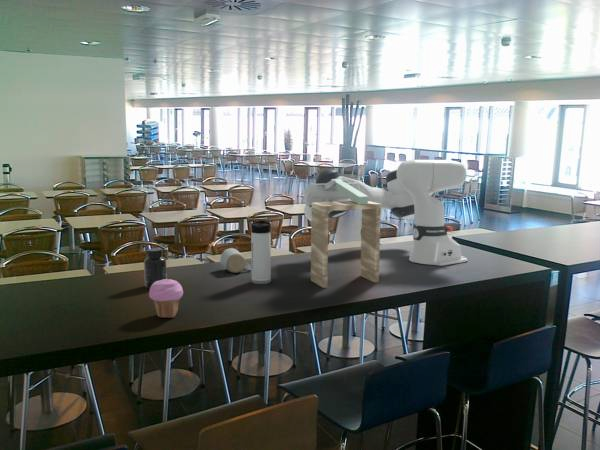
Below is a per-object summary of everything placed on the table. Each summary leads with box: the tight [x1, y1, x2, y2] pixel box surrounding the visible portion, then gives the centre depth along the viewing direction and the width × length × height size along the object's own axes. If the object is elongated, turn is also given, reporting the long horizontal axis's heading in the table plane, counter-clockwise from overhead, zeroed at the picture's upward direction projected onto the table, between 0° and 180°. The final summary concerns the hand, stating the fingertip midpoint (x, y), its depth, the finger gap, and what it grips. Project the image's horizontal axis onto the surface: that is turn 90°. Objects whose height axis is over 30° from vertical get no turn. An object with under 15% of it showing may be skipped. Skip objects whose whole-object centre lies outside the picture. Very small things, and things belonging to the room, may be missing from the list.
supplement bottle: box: [143, 247, 168, 290], centre depth 174 cm, size 7×7×12 cm
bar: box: [331, 179, 368, 204], centre depth 186 cm, size 3×24×2 cm, turn 19°
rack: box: [310, 200, 382, 289], centre depth 181 cm, size 20×10×26 cm, turn 111°
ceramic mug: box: [219, 247, 252, 274], centre depth 196 cm, size 11×8×8 cm
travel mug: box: [250, 219, 272, 285], centre depth 180 cm, size 6×7×20 cm
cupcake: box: [148, 278, 184, 319], centre depth 146 cm, size 9×9×10 cm
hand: (340, 181), depth 193 cm, fingers closed on bar, 3 cm apart
